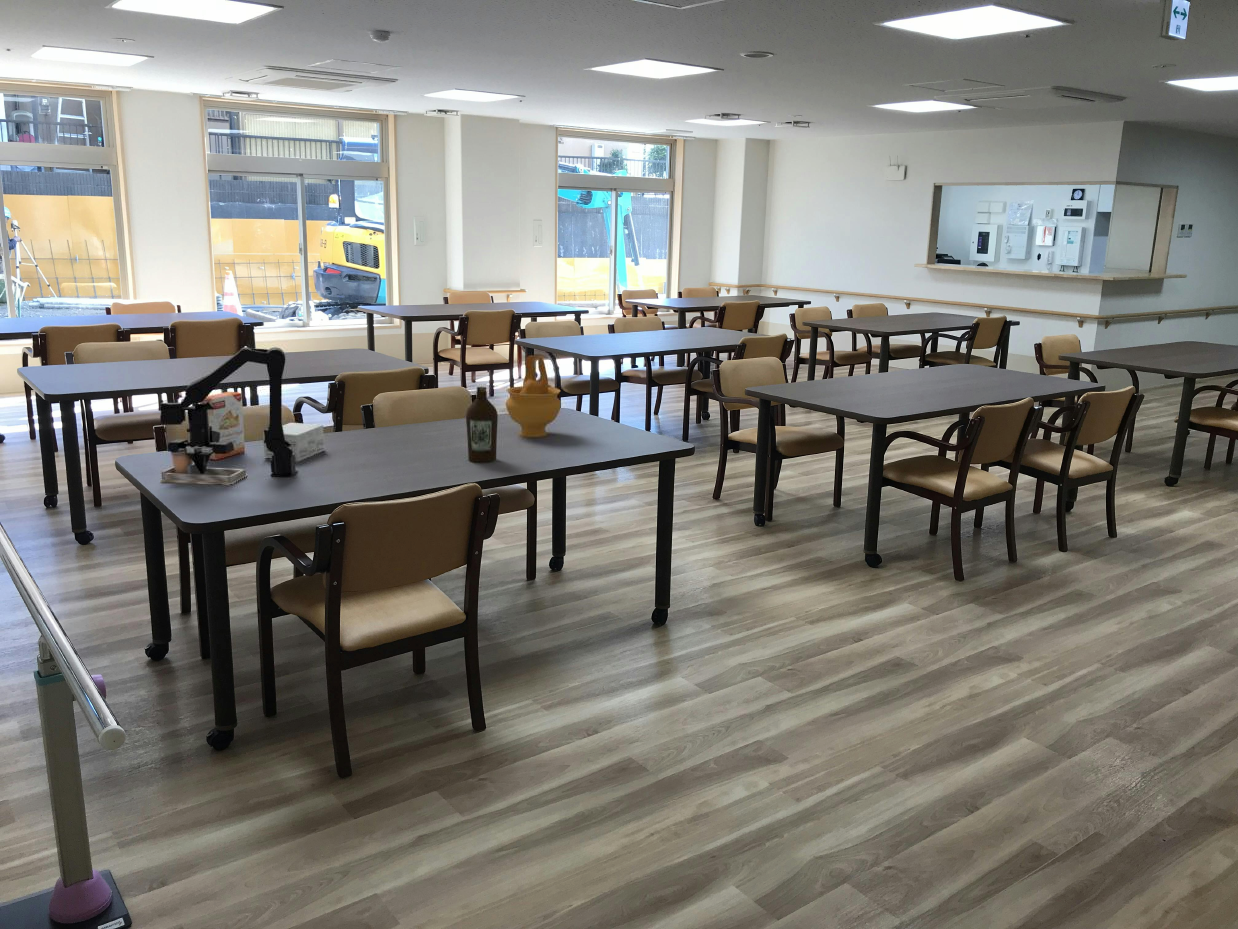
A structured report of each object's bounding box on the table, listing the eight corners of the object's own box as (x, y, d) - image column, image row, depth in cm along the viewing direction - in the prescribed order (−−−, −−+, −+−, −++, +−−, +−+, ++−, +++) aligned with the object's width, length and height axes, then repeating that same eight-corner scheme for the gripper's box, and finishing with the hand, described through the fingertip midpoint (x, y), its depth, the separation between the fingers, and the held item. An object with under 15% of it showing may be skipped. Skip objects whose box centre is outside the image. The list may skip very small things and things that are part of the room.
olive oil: (468, 456, 339) (467, 384, 333) (499, 456, 339) (498, 384, 333) (464, 463, 328) (463, 389, 322) (496, 463, 329) (496, 390, 323)
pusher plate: (203, 473, 305) (202, 460, 304) (191, 478, 298) (190, 466, 298) (199, 473, 305) (198, 460, 304) (187, 478, 299) (186, 465, 298)
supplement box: (291, 448, 345) (289, 422, 343) (325, 451, 342) (323, 424, 340) (263, 458, 329) (261, 431, 327) (298, 461, 326) (297, 434, 324)
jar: (198, 472, 305) (194, 447, 303) (188, 477, 299) (184, 451, 297) (181, 473, 305) (177, 448, 304) (171, 477, 300) (166, 452, 298)
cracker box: (217, 461, 324) (212, 398, 319) (202, 459, 326) (197, 397, 321) (246, 452, 337) (242, 392, 332) (232, 450, 339) (228, 390, 334)
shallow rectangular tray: (247, 476, 306) (246, 466, 305) (230, 485, 295) (229, 475, 295) (180, 472, 308) (179, 463, 307) (160, 481, 298) (159, 472, 297)
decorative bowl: (494, 434, 374) (493, 356, 367) (529, 426, 391) (530, 351, 383) (537, 442, 362) (537, 361, 355) (572, 433, 379) (572, 356, 372)
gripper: (240, 420, 305) (244, 469, 308) (183, 417, 306) (187, 466, 310) (223, 427, 294) (226, 477, 297) (163, 424, 296) (168, 474, 299)
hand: (202, 473), depth 301 cm, fingers closed
